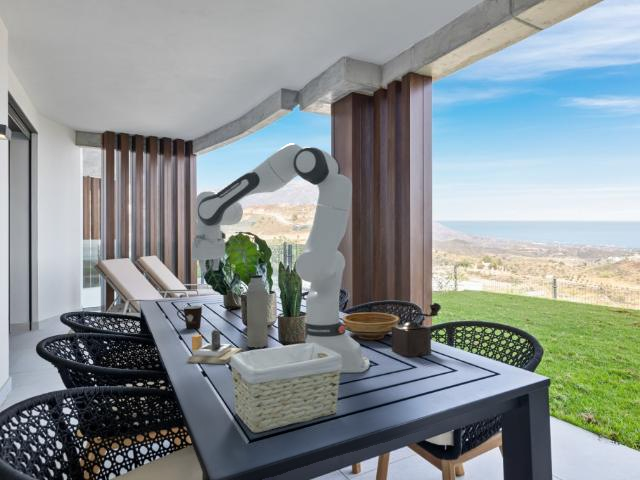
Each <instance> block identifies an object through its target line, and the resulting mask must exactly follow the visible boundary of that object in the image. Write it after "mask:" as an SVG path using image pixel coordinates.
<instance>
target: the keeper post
mask: <svg viewBox="0 0 640 480" xmlns="http://www.w3.org/2000/svg"><path fill="white" fill-rule="evenodd" d="M211 343H212V350H217V349H219V348H220V344H221V332H220V330H219V329H217V328H216V329H213V330H212V331H211ZM241 352H243V348H241V347H239V348H238V347H237V348H236V347H231V350H230V351H229V352H227V353H225V354H224V355H222V356H221V357H201V356H193V354H192V355H191V356H189V357H188V363H202V364H203V363H204V364H221V365H226V364H228V363H229V362H231V355H232V354H237V353H241Z"/></svg>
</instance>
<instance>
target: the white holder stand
mask: <svg viewBox="0 0 640 480" xmlns="http://www.w3.org/2000/svg"><path fill="white" fill-rule="evenodd" d="M231 348H232V343H220V348H219V349H217V350H212V342H210V343H209V342H206V343H205V344H203V335H202V334H194V335H192V336H191V353H192V355H193V356H201V357H221V356H222V355H224V354H225V353H227V352H229V351H230V350H231Z"/></svg>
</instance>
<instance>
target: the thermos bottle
mask: <svg viewBox="0 0 640 480" xmlns="http://www.w3.org/2000/svg"><path fill="white" fill-rule="evenodd" d="M249 277H250V282H249V283H248V284H247V287H248V288H247V289H246V321H247V322H246V323H247V326H246V327H247V329H246V331H247V336H246V337H247V347H249V348H252V347H255V348H258V347H259V348H265V347H267V346H268V344H269V343H268V342H269V337H268V332H269V330H268V293H267V292H268V289H267V288H266V283H265V282H264V278H263V275H262V274H251V275H250V276H249ZM264 346H265V347H264ZM255 348H254V349H255Z"/></svg>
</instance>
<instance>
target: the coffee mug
mask: <svg viewBox="0 0 640 480" xmlns="http://www.w3.org/2000/svg"><path fill="white" fill-rule="evenodd" d="M202 310H203V306H202V305H187V306H184V307H183V309H179V310H177V312H176V315H177V317H178V318H179V319H180V320H181V321H183V322H185V328H186V329H187V330H197V329H200V328H201V323H202V314H203V312H202ZM180 311H181V312H183V313H184V318H183V317H181V315H179V312H180Z"/></svg>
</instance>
